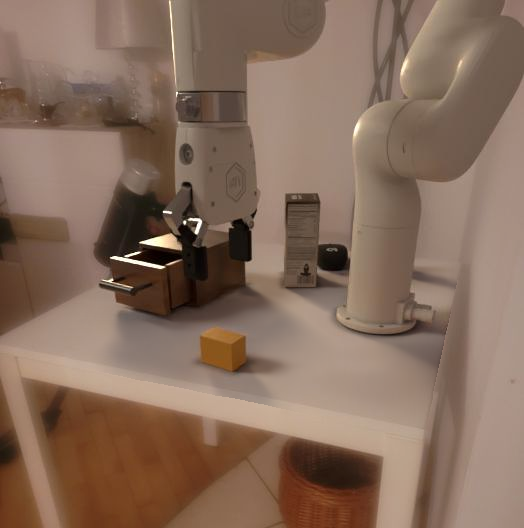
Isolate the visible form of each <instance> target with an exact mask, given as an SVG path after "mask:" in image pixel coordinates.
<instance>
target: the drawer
mask: <svg viewBox="0 0 524 528" xmlns="http://www.w3.org/2000/svg"><path fill="white" fill-rule="evenodd" d="M109 262H110V269H111V270H110V271H111V279H109V280H106V279H100V280H99V282H98V286H99V288H100V289H101V290H102V289H103V290H107V291H110V292H114V297H115V303H117V304H121V305H125V306H128V307H131V308H136V309H139V310H143V311H147V312H150V313H153V314H157V315H160V316H165V317H166V316H168V315H170V314H171V309H175V308H176V307H179V306H181V305H184V304H183V303H185V302H187V301H190V300H192V299H194V292H193V279H191V278H186V277H185V276H184V268H183V256H182V255H179V254H174V253H168V252H163V251H158V250H152V249H146V250H143V251H140V250H139V251H137V252H134V253H130V254H127V255H124V257H120V256H112V257H111V256H110V257H109Z"/></svg>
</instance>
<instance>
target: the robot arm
mask: <svg viewBox="0 0 524 528" xmlns="http://www.w3.org/2000/svg"><path fill="white" fill-rule="evenodd" d="M168 1H169V15H170V28H171V41H172V53H173V55H172V56H173V67H174V80H175V92H176V93H175V96H176V103H175V111H176V113H177V121H178V122H177V124H178V127H176V133H175V135H176V136H175V146H174V147H175V149H174V187H175V195H174V197H173V198H172V199H171V201H169V203H168V204H167V205H166V207H165V208H164V209H163V210H162V217H163V219H164V221H165V223H166V224H167V226H168V228H169V230H170V233H172V234H173V235H174V236H175V237H176V239H177V242H178V244H180V245H182V256H183V268H184V276H185V277H186V278H191V279H195V280H200V281H205V280H207V279H208V262H207V248H206V246H202V243H203V241H204V238H205V235H206V232H207V229H209V226H214V227H215V226H220V225H224V224H227V223H230V225H231V227H229V228H228V232H229V257H230V258H231V259H234V260H239V261H245V263H249V262H251V261H252V260H253V241H252V240H253V236H252V235H253V234H252V232H253V231H252V230H254V228H255V221H254V219H255V217H256V214H257V212H258V204H259V201H260V199H261V198H260V197H261V190H260V189H259V188H258V179H257V166H256V154H255V146H254V140H253V134H252V130H251V126H250V125H249V115H248V114H249V111H248V109H249V108H248V107H249V106H248V102H249V101H248V65H249V64H250V65H251V64H257V63H263V62H264V63H265V62H276V61H282V60H290V59H294V58H297V57H299V56H302V55H304V54H306V53H307V52H308V51H310V50H311V49H312V48H313V47H314V46H315V45H316V43H317V42H318V41H319V39H320V38H321V36H322V34H323V31H324V28H325V26H326V25H325V24H326V20H327V19H326V18H327V16H326V15H327V11H326V4H325V3H327V2H330V0H168ZM505 3H506V0H436V1H435V3H434V5H433V7H432V9H431V10H430V12H429V14H428V16H427V17H426V19H425V21H424V23H423V25H422V27H421V29H420V30H419V32H418V34H417V35H416V37H415V39H414V41H413V43H412V44H411V46H410V48H409V50H408V52H407V54H406V55H405V58H404V60H403V63H402V66H401V69H400V74H399V84H400V88H401V91H402V93H403V95H405V96H406V98H407V99H406V98H405V99H404V98H402V99H401V98H400V99H388V100H383V101H380V102H377V103H375V104H373V105H372V106H370V107H369V108H367V109H366V110H365V111H364V112H363V113H362V114H361V115H360V117H359V118H358V120H357V122H356V124H355V127H354V129H353V133H352V143H351V144H352V145H351V147H352V148H351V149H352V160H353V167H354V179H355V181H354V182H355V195H354V213H353V221H352V222H353V223H352V236H351V249H350V259H349V261H350V263H349V271H348V272H349V273H348V274H349V275H348V284H347V285H348V286H347V298H346V299H347V300H346V301H345V302H343V303H341V304H340V305H339V306H338V307H337V309H336V314H335V315H336V319H337V320H338V322H339V323H341V324H342V325H343V326H345V327H346V328H349V329H351V330H353V331H358V332H361V333H366V334H372V335H373V334H374V335H394V334H401V333H403V332H407V331H409V330H411V329H413V328H414V327H415V326H416V324H417V320H418V321H420V322H424V323H430V324H433V323H434V322H435V319H436V316H437V315H436V314H437V311H436V310H434V309H433V307H432V305H429V304H424V303H423V304H422V303H418V301H417V300H415V299H416V298H415V297H416V293H415V292H411V289H412V288H411V287H412V281H413V274H414V266H415V259H416V252H417V244H418V238H419V232H420V225H421V224H420V223H421V219H422V218H421V217H422V199H421V193H420V189H419V185H418V183H417V180H419V181H426V182H434V183H449V182H452V181H455V180H457V179H459V178H461V177H462V176H463V175H465V174H466V173H467V172H468V171H469V170H470V169H471V168H472V166H473V165H474V164H475V162H476V161H477V159H478V157H479V155H481V152H482V151H483V149H484V148H485V146H486V144H487V143H488V141H489V139H490V138H491V136H492V134H493V132H494V131H495V129H496V127H497V125H498V124H499V123H500V121H501V119H502V117H503V116H504V114H505V112H506V111H507V110H508V107H509V105H510V104H511V102H512V100H513V98H514V97H515V95H516V93H517V91H518V90H519V87H520V85H521V83H522V81H523V78H524V26H523V24H522V23H521V22H520V21H519V20H517V19H516V18H513V17H512V16H509V15H503V14H502V12H503V10H504V7H505ZM501 14H502V15H501ZM195 226H196V227H195ZM192 227H195V228H196V231H195V234H194V232H193V231H192V230H191V229H192Z"/></svg>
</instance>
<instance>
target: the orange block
mask: <svg viewBox="0 0 524 528" xmlns="http://www.w3.org/2000/svg"><path fill="white" fill-rule="evenodd" d="M199 345H200V360H201V363H203V364H207V365H210V366H213V367H217V368H218V369H219V368H220V369H222V370H226V371H229V372H235V371H236V370H237V369H239V368H240V367H242V366H243V365H244V364H246V363H247V339H246V335H245V334H241V333H237V332H234V331H230V330H227V329H223V328H219V327H217V326H214V327H212V328H210V329H207V330H206V331H204V332H203V333H200V335H199Z"/></svg>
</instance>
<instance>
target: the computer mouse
mask: <svg viewBox="0 0 524 528" xmlns="http://www.w3.org/2000/svg"><path fill="white" fill-rule="evenodd" d="M348 260H349V251H348V248H347V246H346V245H344V244H342V243H341V244H340V243H332V242H327V243H320V244H319V243H318V259H317V268H320V269H322V270H326V271H327V270H328V271H339V270H343V269H344V268H345V267H346V266H347V264H348Z"/></svg>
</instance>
